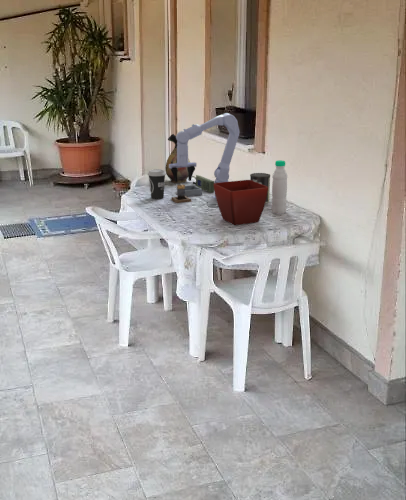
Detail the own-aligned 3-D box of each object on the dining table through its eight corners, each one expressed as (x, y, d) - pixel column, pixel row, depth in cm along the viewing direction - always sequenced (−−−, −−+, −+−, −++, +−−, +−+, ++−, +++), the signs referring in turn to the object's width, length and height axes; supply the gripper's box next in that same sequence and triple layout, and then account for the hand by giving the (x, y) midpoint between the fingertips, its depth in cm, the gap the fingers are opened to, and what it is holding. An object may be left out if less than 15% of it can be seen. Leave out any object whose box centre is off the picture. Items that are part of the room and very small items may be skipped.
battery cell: (186, 200, 326) (186, 184, 323) (178, 201, 324) (178, 184, 322) (183, 199, 329) (183, 182, 327) (176, 199, 328) (175, 183, 325)
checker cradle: (192, 202, 325) (192, 199, 324) (176, 203, 321) (176, 200, 321) (186, 198, 333) (186, 195, 332) (170, 200, 329) (170, 197, 329)
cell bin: (202, 195, 339) (202, 189, 338) (184, 197, 336) (184, 190, 335) (194, 191, 350) (193, 185, 349) (177, 192, 346) (177, 186, 345)
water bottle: (268, 211, 305) (270, 160, 298) (281, 210, 308) (283, 159, 300) (276, 214, 299) (277, 162, 291) (288, 213, 302) (290, 161, 294)
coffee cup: (155, 201, 327) (154, 172, 322) (144, 198, 334) (143, 170, 329) (170, 198, 333) (169, 170, 328) (159, 195, 340) (158, 168, 335)
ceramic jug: (167, 184, 367) (165, 133, 358) (164, 179, 382) (163, 130, 372) (195, 183, 369) (195, 132, 360) (192, 178, 384) (191, 129, 375)
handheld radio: (209, 193, 346) (190, 185, 367) (214, 193, 347) (195, 184, 369) (210, 181, 344) (190, 173, 365) (215, 181, 345) (196, 173, 367)
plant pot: (230, 228, 277) (230, 191, 272) (212, 218, 293) (212, 182, 288) (268, 223, 284) (269, 187, 279) (249, 214, 301) (249, 179, 296)
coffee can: (262, 204, 318) (263, 177, 314) (245, 202, 324) (246, 175, 320) (273, 201, 326) (274, 174, 322) (256, 198, 332) (257, 172, 328)
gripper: (193, 153, 329) (193, 178, 333) (166, 154, 324) (167, 180, 328) (197, 155, 323) (198, 181, 327) (171, 156, 318) (171, 183, 322)
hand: (182, 181), depth 327 cm, fingers open, 7 cm apart
